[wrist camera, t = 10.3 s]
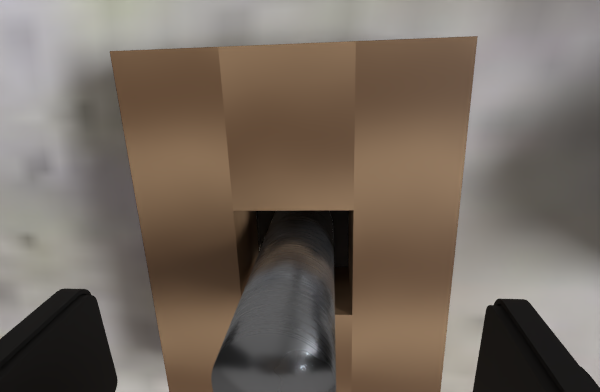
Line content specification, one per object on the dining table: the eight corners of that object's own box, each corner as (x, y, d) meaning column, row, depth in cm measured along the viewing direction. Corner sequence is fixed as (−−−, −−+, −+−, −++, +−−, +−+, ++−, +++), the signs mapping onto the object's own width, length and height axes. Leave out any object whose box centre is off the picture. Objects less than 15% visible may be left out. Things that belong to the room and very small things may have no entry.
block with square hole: (160, 56, 16) (109, 51, 13) (441, 45, 15) (477, 36, 12) (201, 355, 21) (173, 416, 18) (416, 362, 20) (436, 427, 17)
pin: (270, 196, 18) (204, 332, 9) (333, 196, 18) (336, 335, 8) (274, 252, 19) (217, 431, 10) (333, 253, 19) (336, 436, 9)
